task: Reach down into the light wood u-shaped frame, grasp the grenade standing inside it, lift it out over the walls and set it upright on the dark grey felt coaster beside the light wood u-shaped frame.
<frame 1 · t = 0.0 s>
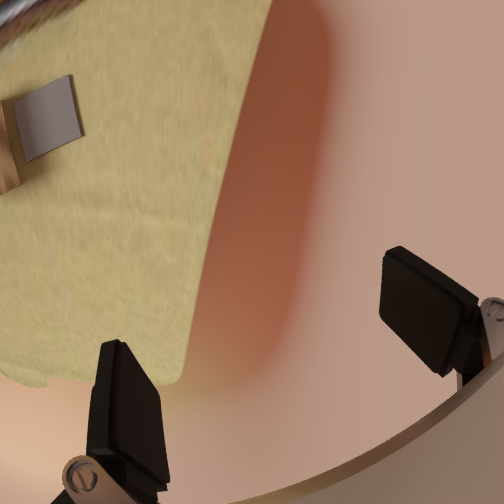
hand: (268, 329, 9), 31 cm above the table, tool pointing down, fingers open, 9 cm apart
coaster: (46, 118, 27), on the table
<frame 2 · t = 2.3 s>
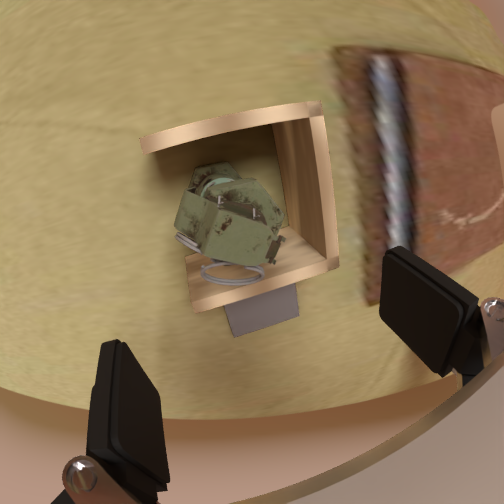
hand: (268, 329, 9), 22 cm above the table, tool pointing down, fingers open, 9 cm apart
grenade: (206, 193, 29), on the table
coaster: (259, 297, 36), on the table
light wood u-shaped frame: (225, 188, 29), on the table
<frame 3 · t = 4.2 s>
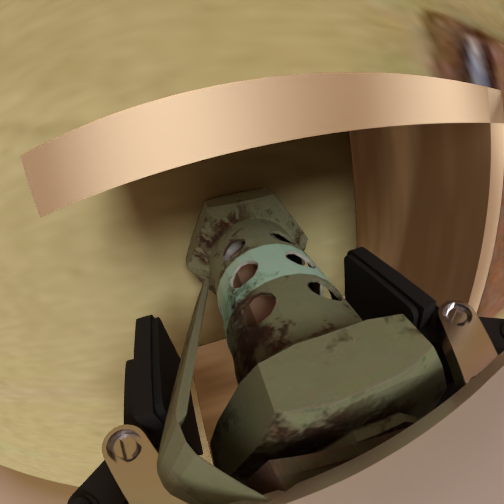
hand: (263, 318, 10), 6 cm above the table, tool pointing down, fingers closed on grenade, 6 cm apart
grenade: (226, 247, 15), on the table, touching gripper
light wood u-shaped frame: (262, 237, 16), on the table
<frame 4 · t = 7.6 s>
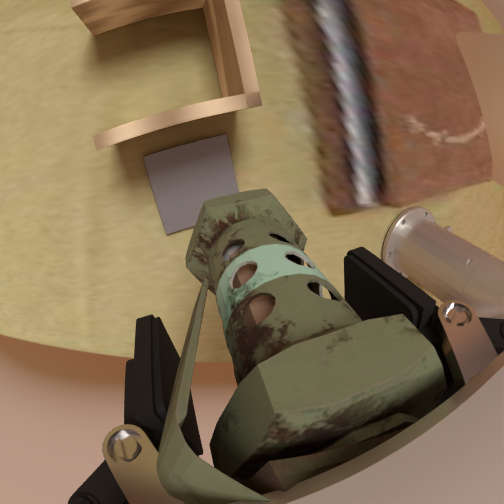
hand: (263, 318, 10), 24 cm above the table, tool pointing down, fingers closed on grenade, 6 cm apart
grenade: (225, 247, 15), point 18 cm above the table, touching gripper
coaster: (194, 183, 31), on the table
light wood u-shaped frame: (156, 64, 24), on the table
when the fingers open (8 cm above the table, at t = 11.0 s): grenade drops 1 cm, resting on coaster.
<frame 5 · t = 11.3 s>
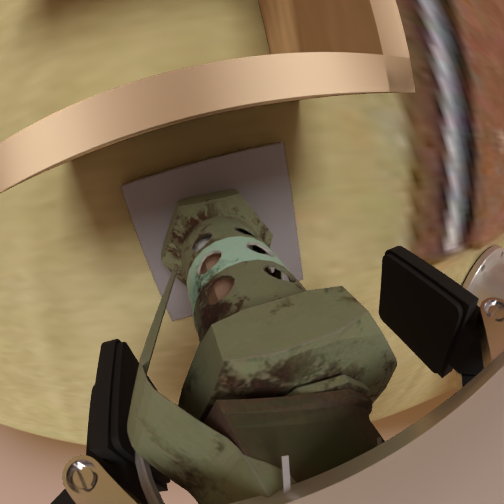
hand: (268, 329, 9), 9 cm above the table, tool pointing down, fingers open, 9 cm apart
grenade: (197, 244, 16), resting on coaster, touching gripper
coaster: (220, 234, 17), on the table
light wood u-shaped frame: (150, 9, 10), on the table
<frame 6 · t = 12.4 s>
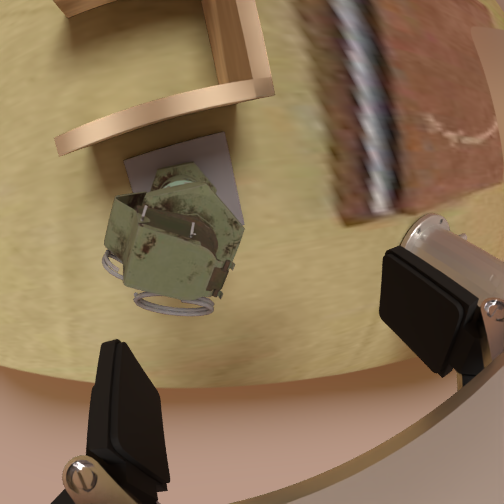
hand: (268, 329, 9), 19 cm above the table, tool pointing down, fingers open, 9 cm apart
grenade: (170, 197, 25), point 1 cm above the table, touching coaster
coaster: (185, 192, 25), on the table
light wood u-shaped frame: (140, 48, 19), on the table
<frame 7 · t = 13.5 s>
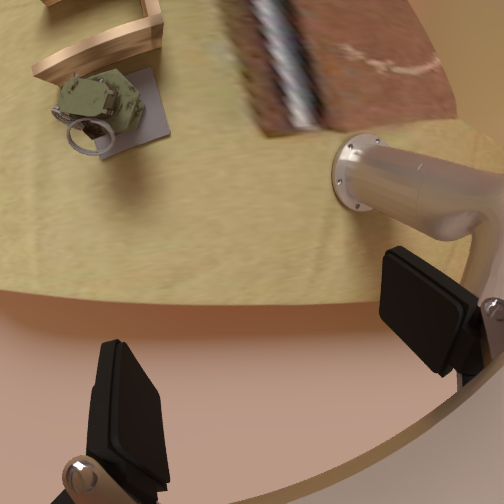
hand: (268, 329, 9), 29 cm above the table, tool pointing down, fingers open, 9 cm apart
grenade: (113, 116, 28), resting on coaster
coaster: (125, 112, 29), on the table
light wood u-shaped frame: (94, 20, 22), on the table
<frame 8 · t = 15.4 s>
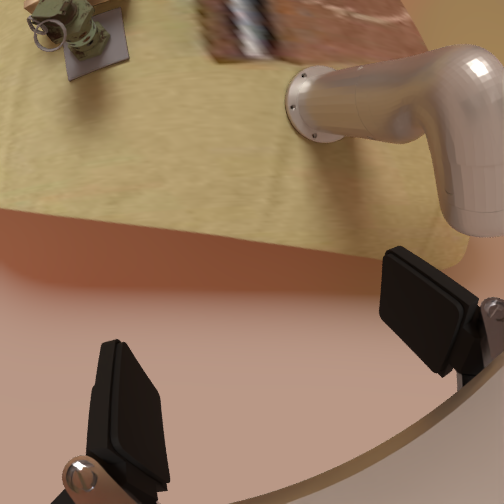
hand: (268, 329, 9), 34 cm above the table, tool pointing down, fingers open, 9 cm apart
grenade: (84, 45, 27), resting on coaster
coaster: (94, 42, 27), on the table
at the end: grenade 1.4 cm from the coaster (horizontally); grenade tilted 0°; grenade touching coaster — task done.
